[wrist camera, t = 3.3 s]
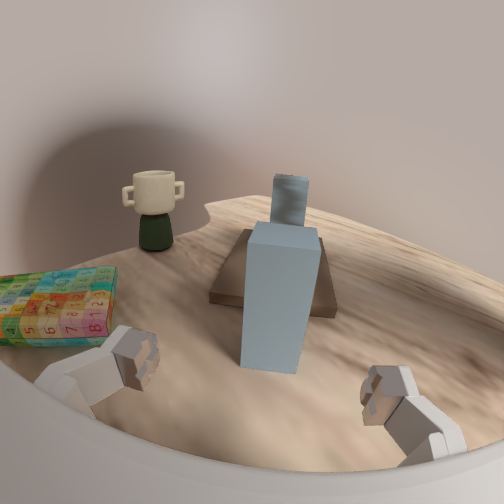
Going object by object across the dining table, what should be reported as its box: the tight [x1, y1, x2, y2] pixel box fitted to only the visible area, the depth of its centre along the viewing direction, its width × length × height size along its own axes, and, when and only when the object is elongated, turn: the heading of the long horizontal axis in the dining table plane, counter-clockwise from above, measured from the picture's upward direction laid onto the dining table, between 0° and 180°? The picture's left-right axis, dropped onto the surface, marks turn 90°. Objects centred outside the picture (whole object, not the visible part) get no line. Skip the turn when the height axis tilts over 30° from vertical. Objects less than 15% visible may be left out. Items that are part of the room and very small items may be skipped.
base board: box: [209, 174, 337, 318], centre depth 40 cm, size 15×24×14 cm, turn 172°
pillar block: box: [240, 221, 321, 374], centre depth 23 cm, size 5×5×12 cm
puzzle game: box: [0, 266, 118, 347], centre depth 24 cm, size 12×5×20 cm
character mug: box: [122, 171, 184, 250], centre depth 45 cm, size 11×7×13 cm, turn 123°
